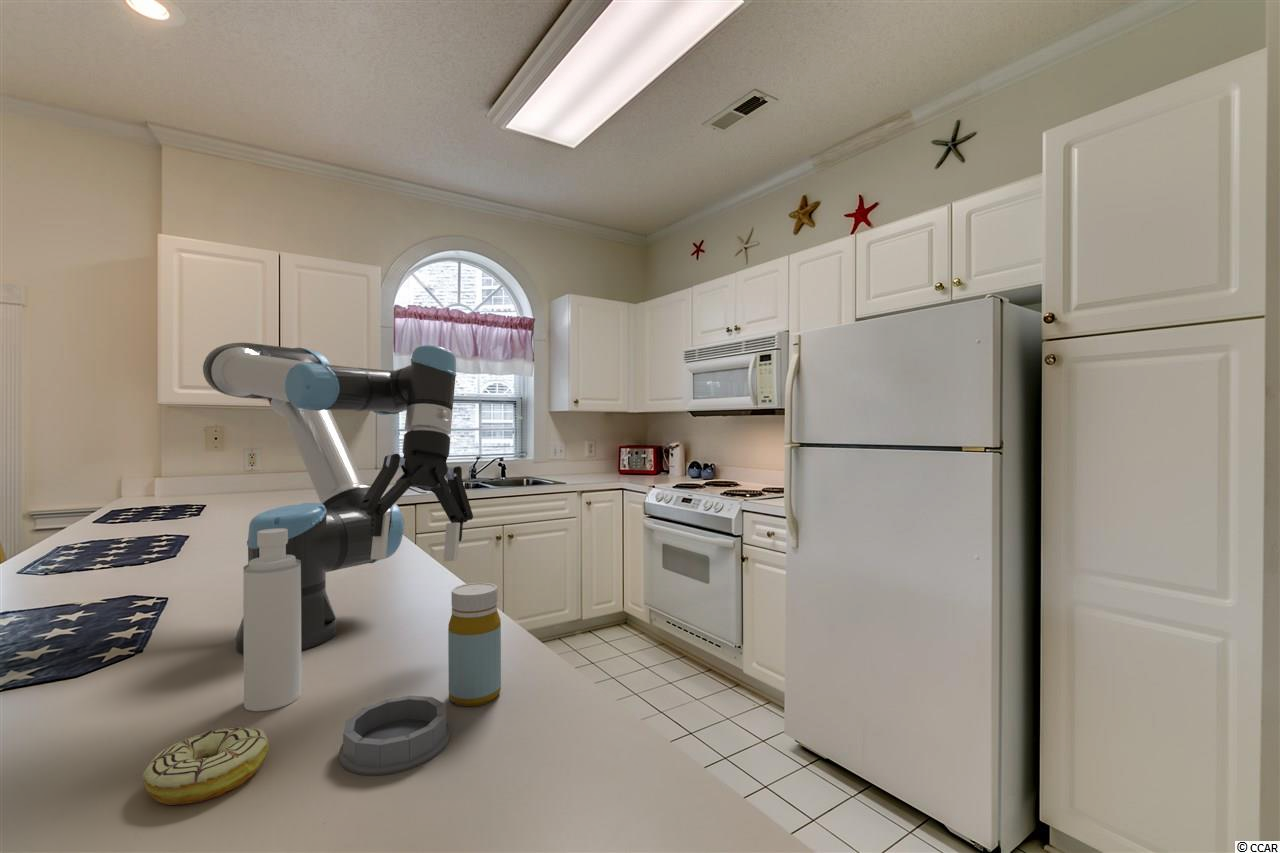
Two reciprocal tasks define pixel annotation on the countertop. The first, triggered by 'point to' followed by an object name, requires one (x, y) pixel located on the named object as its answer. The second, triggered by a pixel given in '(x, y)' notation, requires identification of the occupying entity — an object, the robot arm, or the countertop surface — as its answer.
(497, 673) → the bottle
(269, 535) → the spray bottle
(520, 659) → the countertop surface
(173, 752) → the decorated donut
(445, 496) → the robot arm
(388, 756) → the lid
